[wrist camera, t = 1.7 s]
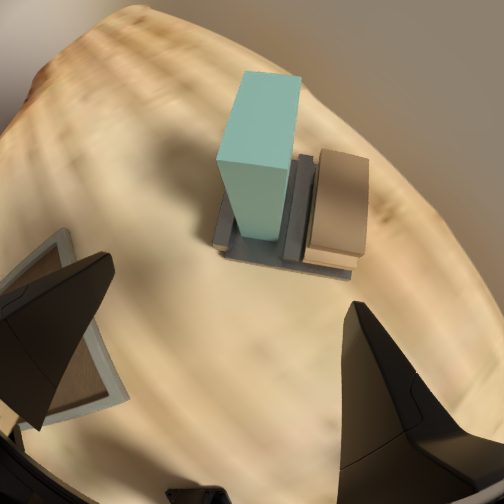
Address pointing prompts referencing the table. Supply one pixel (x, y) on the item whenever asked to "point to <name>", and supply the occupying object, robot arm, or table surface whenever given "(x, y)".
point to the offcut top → (340, 204)
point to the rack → (291, 230)
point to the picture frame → (87, 353)
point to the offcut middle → (324, 256)
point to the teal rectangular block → (259, 151)
